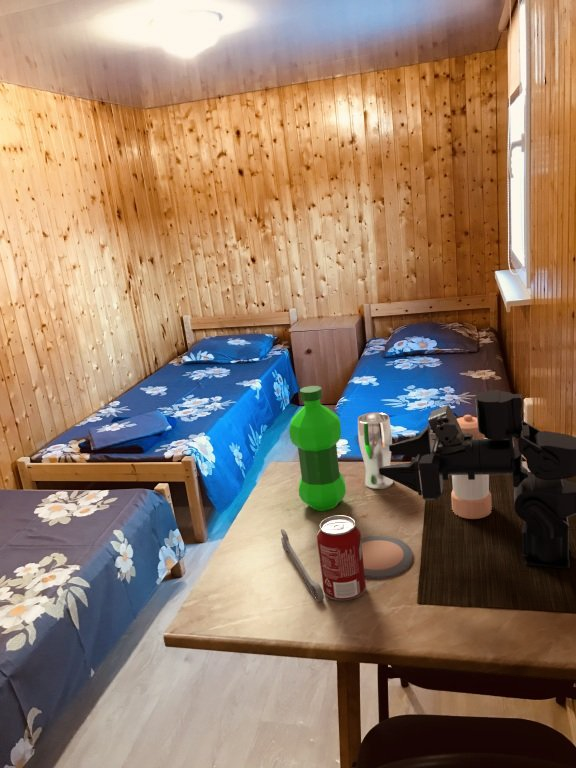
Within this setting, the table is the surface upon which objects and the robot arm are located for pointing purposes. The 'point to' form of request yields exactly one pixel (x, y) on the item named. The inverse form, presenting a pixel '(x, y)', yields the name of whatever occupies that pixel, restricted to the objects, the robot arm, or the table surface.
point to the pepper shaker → (471, 483)
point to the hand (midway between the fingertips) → (384, 459)
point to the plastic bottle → (317, 451)
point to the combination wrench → (302, 569)
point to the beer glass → (375, 447)
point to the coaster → (385, 556)
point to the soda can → (341, 558)
